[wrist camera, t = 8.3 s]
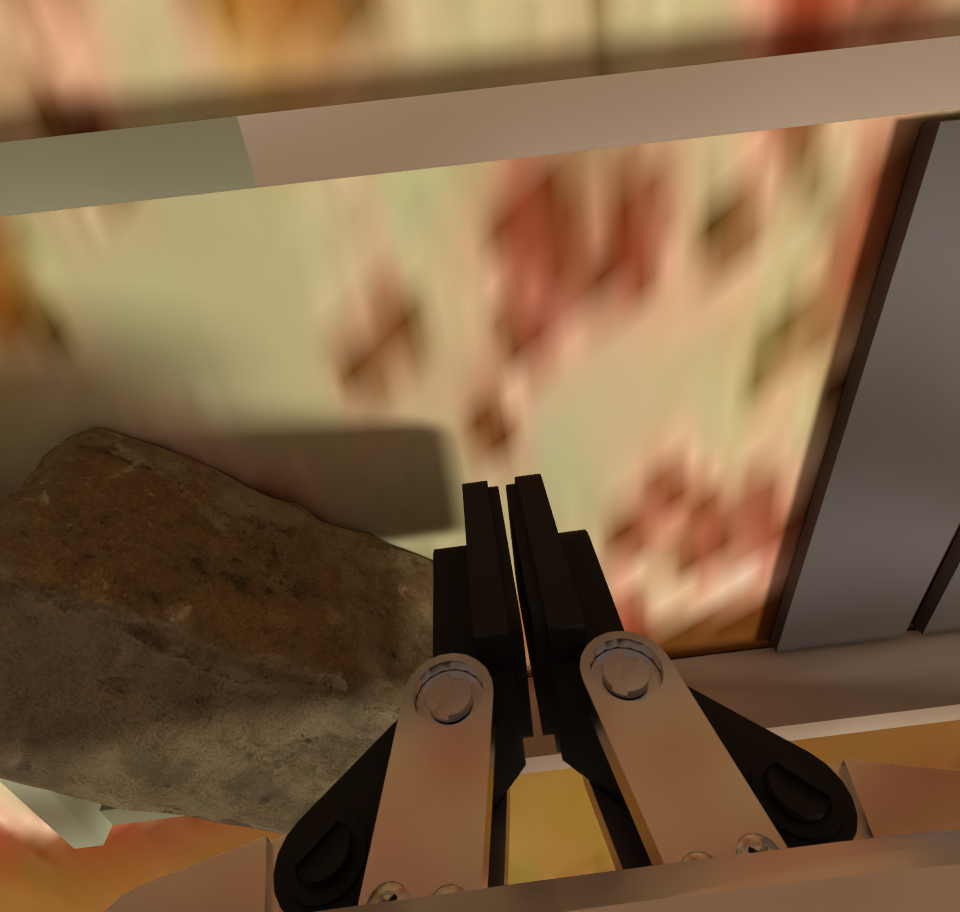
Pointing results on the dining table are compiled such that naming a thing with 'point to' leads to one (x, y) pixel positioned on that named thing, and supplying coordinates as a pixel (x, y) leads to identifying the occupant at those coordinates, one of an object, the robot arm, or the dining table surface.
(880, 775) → the robot arm
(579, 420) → the dining table surface
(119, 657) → the stone block
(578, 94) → the box
